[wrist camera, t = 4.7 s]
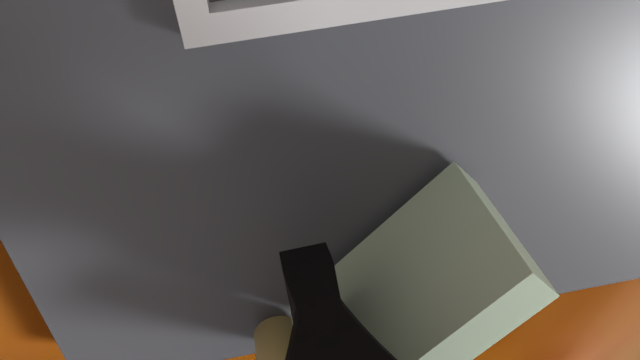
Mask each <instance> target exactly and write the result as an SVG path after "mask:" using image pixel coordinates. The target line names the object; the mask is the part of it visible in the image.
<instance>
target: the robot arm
mask: <svg viewBox="0 0 640 360" xmlns="http://www.w3.org/2000/svg"><path fill="white" fill-rule="evenodd" d="M279 255H280V260H281V265H282V270H283V275H284V280H285V285H286V290H287V295H288V300H289V305H290V310H291V315H292V320H293V325H292V330H291V335H290V340H289V345H288V349H287V353H286V357H285V360H397V359H396V358H395V357H394V356H393V355H392V354H391V353H390V352H389V351H388V350H387V349H385V348H384V347H383V346H382V345H381V344H380V343H379V342H378V341H377V340H376V339H375V338H374V337H373V335H372V334H371V333H370V332H369V331H368V330H367V329H366V328H365V327H364V326H363V325H362V324H361V322H360V321H359V320H358V319H357V318H356V317H355V316H354V314H353V313H352V312H351V311H350V310H349V309H348V307H347V306H346V305H345V303H344V302H343V301H342V300H341V297H340V292H339V287H338V282H337V276H336V271H335V266H334V261H333V259H332V256H331V254H330V251H329V249H328V246H327V244H326V242H324V243H319V244H314V245H309V246H305V247H300V248H295V249H291V250H286V251H281V252H279Z"/></svg>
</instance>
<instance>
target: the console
mask: <svg viewBox="0 0 640 360" xmlns="http://www.w3.org/2000/svg"><path fill="white" fill-rule="evenodd" d="M453 161H454V162H455V163H456V164H458V165H459V166H460V167H461V168H462V169H463V170H464V171H465V172H466V173H467V174H468V175H469V176H470V177H472V178H473V179H474V180H475V181H476V182H477V183H478V185H479V186H480V187H481V189H482V190H483V191H484V193H485V194H486V196H487V197H488V198H489V200H490V201H491V202H492V204H493V205H494V207H495V208H496V209H497V211H498V212H499V213H500V215H501V216H502V218H503V219H504V220H505V222H506V223H507V224H508V226H509V227H510V229H511V230H512V231H513V233H514V234H515V235H516V237H517V238H518V239H519V241H520V242H521V244H522V245H523V246H524V248H525V249H526V250H527V252H528V253H529V255H530V256H531V257H532V259H533V260H534V261H535V263H536V264H537V266H538V267H539V268H540V270H541V271H542V272H543V274H544V275H545V277H546V278H547V279H548V281H549V282H550V283H551V285H552V286H553V288H554V289H555V290H556V292H557V293H558V294H561V293H566V292H571V291H576V290H581V289H586V288H591V287H596V286H602V285H607V284H612V283H617V282H622V281H627V280H632V279H637V278H640V0H0V240H1V242H2V243H3V245H4V247H5V249H6V251H7V253H8V254H9V256H10V258H11V260H12V262H13V264H14V266H15V267H16V269H17V271H18V273H19V275H20V277H21V278H22V280H23V282H24V284H25V286H26V288H27V289H28V291H29V293H30V295H31V297H32V299H33V300H34V302H35V304H36V306H37V308H38V310H39V311H40V313H41V315H42V317H43V319H44V321H45V323H46V324H47V326H48V328H49V330H50V332H51V334H52V335H53V337H54V339H55V341H56V343H57V345H58V346H59V348H60V350H61V352H62V354H63V356H64V357H65V359H66V360H223V359H228V358H233V357H238V356H244V355H249V354H254V353H255V342H254V332H255V329H256V327H257V326H258V325H259V324H260V323H261V322H262V321H264V320H266V319H268V318H270V317H274V316H289V317H291V313H290V307H289V300H288V295H287V290H286V285H285V280H284V275H283V270H282V265H281V260H280V255H279V252H281V251H286V250H291V249H295V248H300V247H305V246H309V245H314V244H319V243H324V242H326V244H327V246H328V249H329V251H330V254H331V256H332V259H333V261H334V266H335V265H336V264H337V263H338V262H339V261H340V260H341V259H343V258H344V257H345V256H346V255H347V254H348V253H349V252H351V251H352V250H353V249H354V248H355V247H356V246H357V245H359V244H360V243H361V242H362V241H363V240H364V239H365V238H367V237H368V236H369V235H370V234H371V233H372V232H373V231H375V230H376V229H377V228H378V227H379V226H380V225H381V224H383V223H384V222H385V221H386V220H387V219H388V218H389V217H391V216H392V215H393V214H394V213H395V212H396V211H397V210H399V209H400V208H401V207H402V206H403V205H404V204H405V203H407V202H408V201H409V200H410V199H411V198H412V197H413V196H415V195H416V194H417V193H418V192H419V191H420V190H421V189H423V188H424V187H425V186H426V185H427V184H428V183H429V182H431V181H432V180H433V179H434V178H435V177H436V176H437V175H439V174H440V173H441V172H442V171H443V170H444V169H445V168H447V167H448V166H449V165H450V164H451V163H452V162H453Z"/></svg>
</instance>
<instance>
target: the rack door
mask: <svg viewBox="0 0 640 360" xmlns="http://www.w3.org/2000/svg"><path fill="white" fill-rule="evenodd" d="M335 271H336V276H337V282H338V287H339V292H340V297H341V300H342V301H343V302H344V303H345V305H346V306H347V307H348V309H349V310H350V311H351V312H352V313H353V314H354V316H355V317H356V318H357V319H358V320H359V321H360V322H361V324H362V325H363V326H364V327H365V328H366V329H367V330H368V331H369V332H370V333H371V334H372V335H373V337H374V338H375V339H376V340H377V341H378V342H379V343H380V344H381V345H382V346H383V347H384V348H385V349H387V350H388V351H389V352H390V353H391V354H392V355H393V356H394V357H395V358H396V359H397V360H473V359H474V358H476V357H477V356H478V355H480V354H481V353H482V352H484V351H485V350H487V349H488V348H489V347H491V346H492V345H493V344H495V343H496V342H498V341H499V340H500V339H502V338H503V337H504V336H506V335H507V334H509V333H510V332H511V331H513V330H514V329H515V328H517V327H518V326H520V325H521V324H522V323H524V322H525V321H526V320H528V319H529V318H530V317H532V316H533V315H535V314H536V313H537V312H539V311H540V310H541V309H543V308H544V307H546V306H547V305H548V304H550V303H551V302H552V301H554V300H555V299H557V298H558V297H559V294H558V293H557V292H556V290H555V289H554V288H553V286H552V285H551V283H550V282H549V281H548V279H547V278H546V277H545V275H544V274H543V272H542V271H541V270H540V268H539V267H538V266H537V264H536V263H535V261H534V260H533V259H532V257H531V256H530V255H529V253H528V252H527V250H526V249H525V248H524V246H523V245H522V244H521V242H520V241H519V239H518V238H517V237H516V235H515V234H514V233H513V231H512V230H511V229H510V227H509V226H508V224H507V223H506V222H505V220H504V219H503V218H502V216H501V215H500V213H499V212H498V211H497V209H496V208H495V207H494V205H493V204H492V202H491V201H490V200H489V198H488V197H487V196H486V194H485V193H484V191H483V190H482V189H481V187H480V186H479V185H478V183H477V182H476V181H475V180H474V179H473V178H472V177H470V176H469V175H468V174H467V173H466V172H465V171H464V170H463V169H462V168H461V167H460V166H459V165H458V164H456V163H455V162H454V161H453V162H452V163H451V164H450V165H449V166H448V167H447V168H445V169H444V170H443V171H442V172H441V173H440V174H439V175H437V176H436V177H435V178H434V179H433V180H432V181H431V182H429V183H428V184H427V185H426V186H425V187H424V188H423V189H421V190H420V191H419V192H418V193H417V194H416V195H415V196H413V197H412V198H411V199H410V200H409V201H408V202H407V203H405V204H404V205H403V206H402V207H401V208H400V209H399V210H397V211H396V212H395V213H394V214H393V215H392V216H391V217H389V218H388V219H387V220H386V221H385V222H384V223H383V224H381V225H380V226H379V227H378V228H377V229H376V230H375V231H373V232H372V233H371V234H370V235H369V236H368V237H367V238H365V239H364V240H363V241H362V242H361V243H360V244H359V245H357V246H356V247H355V248H354V249H353V250H352V251H351V252H349V253H348V254H347V255H346V256H345V257H344V258H343V259H341V260H340V261H339V262H338V263H337V264H336V265H335ZM289 307H290V305H289ZM290 313H291V310H290ZM292 325H293V320H292V315H291V317H289V316H274V317H270V318H268V319H266V320H264V321H262V322H261V323H260V324H259V325H258V326H257V327H256V329H255V332H254V342H255V356H256V360H285V357H286V353H287V349H288V345H289V340H290V335H291V330H292Z"/></svg>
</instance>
